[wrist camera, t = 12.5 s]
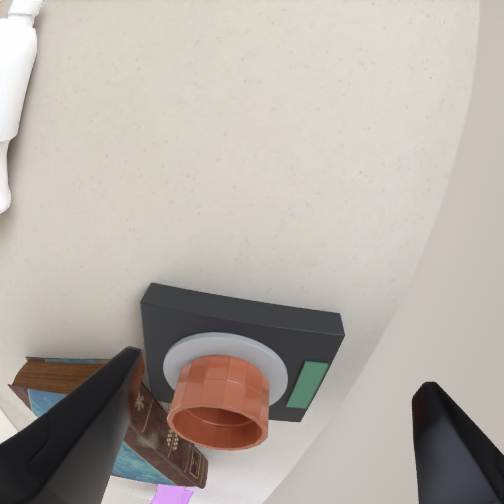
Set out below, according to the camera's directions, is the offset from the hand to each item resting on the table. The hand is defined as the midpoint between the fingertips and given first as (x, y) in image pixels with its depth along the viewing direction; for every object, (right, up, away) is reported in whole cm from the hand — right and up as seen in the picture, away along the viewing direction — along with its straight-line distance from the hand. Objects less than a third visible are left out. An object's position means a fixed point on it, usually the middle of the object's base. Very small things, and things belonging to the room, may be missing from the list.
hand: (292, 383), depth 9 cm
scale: (-3, -5, +17) cm, 17 cm away
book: (-18, -17, +25) cm, 36 cm away
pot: (-3, -6, +14) cm, 15 cm away
